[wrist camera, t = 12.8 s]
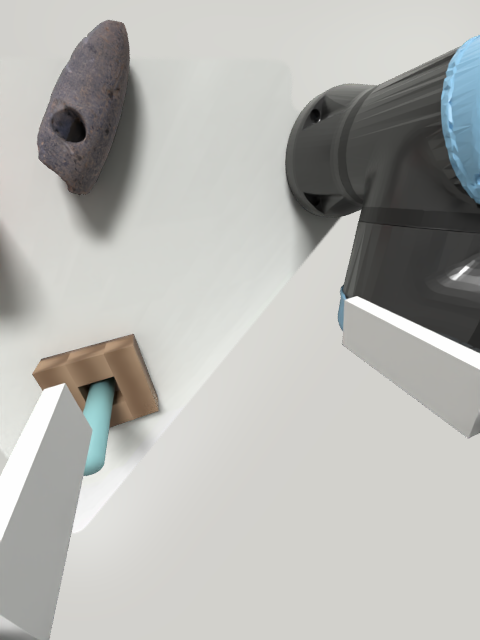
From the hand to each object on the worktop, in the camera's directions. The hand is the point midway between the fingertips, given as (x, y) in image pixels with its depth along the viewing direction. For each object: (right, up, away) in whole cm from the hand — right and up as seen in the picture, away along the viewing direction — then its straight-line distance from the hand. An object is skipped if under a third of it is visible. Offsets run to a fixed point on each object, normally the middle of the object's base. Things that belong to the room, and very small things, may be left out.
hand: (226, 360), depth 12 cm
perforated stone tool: (-14, +23, +15) cm, 31 cm away
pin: (-19, -7, +27) cm, 34 cm away
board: (-19, -7, +27) cm, 34 cm away
